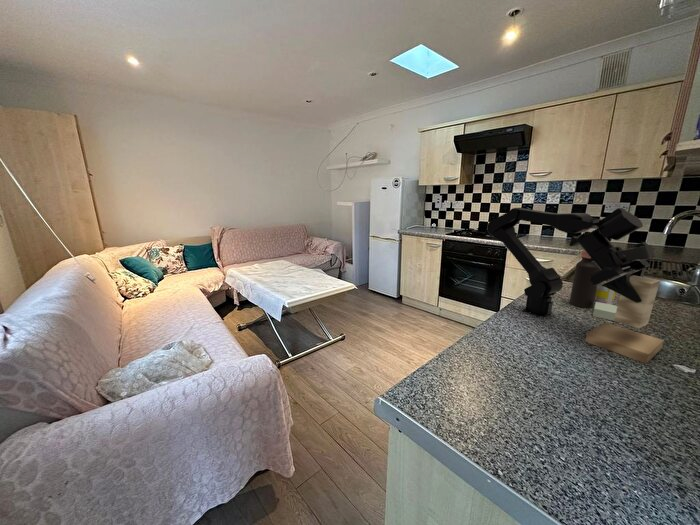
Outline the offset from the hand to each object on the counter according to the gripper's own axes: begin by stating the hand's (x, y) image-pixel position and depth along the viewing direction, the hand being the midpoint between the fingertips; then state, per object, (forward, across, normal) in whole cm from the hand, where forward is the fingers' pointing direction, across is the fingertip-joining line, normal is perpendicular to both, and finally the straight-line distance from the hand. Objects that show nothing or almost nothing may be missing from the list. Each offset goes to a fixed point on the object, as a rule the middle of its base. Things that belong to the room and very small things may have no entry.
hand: (644, 300), depth 70 cm
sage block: (+2, +18, +18) cm, 26 cm away
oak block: (+9, -1, +11) cm, 14 cm away
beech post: (+4, 0, +6) cm, 7 cm away
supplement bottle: (-3, +29, +23) cm, 37 cm away
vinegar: (-5, +20, +24) cm, 32 cm away
